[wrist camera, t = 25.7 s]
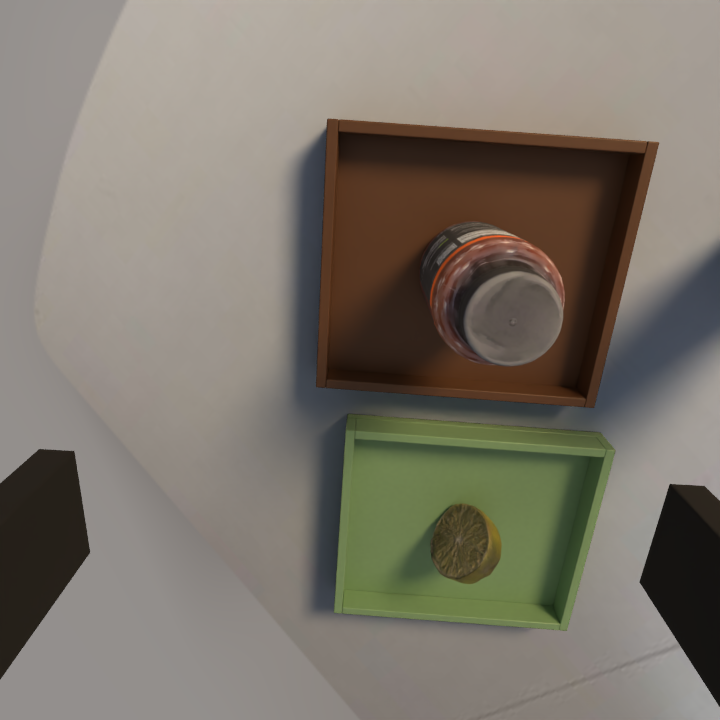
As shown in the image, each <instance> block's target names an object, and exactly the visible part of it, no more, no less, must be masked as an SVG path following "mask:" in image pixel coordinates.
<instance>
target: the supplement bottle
mask: <svg viewBox="0 0 720 720" xmlns="http://www.w3.org/2000/svg"><path fill="white" fill-rule="evenodd" d="M419 278H420V285H421V289H422V292H423V296H424V298H425V301H426V303H427V306H428V309H429V311H430V314H431V316H432V319H433V322H434V324H435V326H436V328H437V331H438V333H439V334H440V336H441V338H442V339H443V340H444V342H445V343H446V344H447V345H448V346H449V347H450V348H451V349H452V350H453V351H454V352H455V353H457V354H458V355H460V356H462V357H463V358H465V359H468V360H470V361H472V362H475V363H479V364H484V365H499V366H510V367H511V366H519V365H523V364H527V363H530V362H532V361H534V360H536V359H537V358H539V357H540V356H542V355H543V354H545V353H546V352H547V350H548V349H550V348H551V346H552V345H553V344H554V342H555V341H556V339H557V337H558V335H559V333H560V330H561V327H562V322H563V309H564V302H565V292H564V285H563V281H562V278H561V276H560V274H559V272H558V270H557V268H556V266H555V264H554V263H553V261H552V260H551V259H550V258H549V257H548V256H547V255H546V254H545V253H544V252H543V251H542V250H540V249H539V248H538V247H536V246H534V245H533V244H531V243H529V242H527V241H525V240H523V239H521V238H519V237H517V236H515V235H513V234H511V233H508V232H506V231H504V230H502V229H500V228H498V227H496V226H494V225H491V224H488V223H484V222H477V221H467V222H461V223H458V224H454V225H452V226H449V227H447V228H446V229H444V230H443V231H441V232H440V233H439V234H438V235H436V236H435V237H434V239H433V240H432V241H431V242H430V243H429V245H428V246H427V248H426V250H425V251H424V253H423V256H422V259H421V262H420V269H419Z"/></svg>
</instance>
